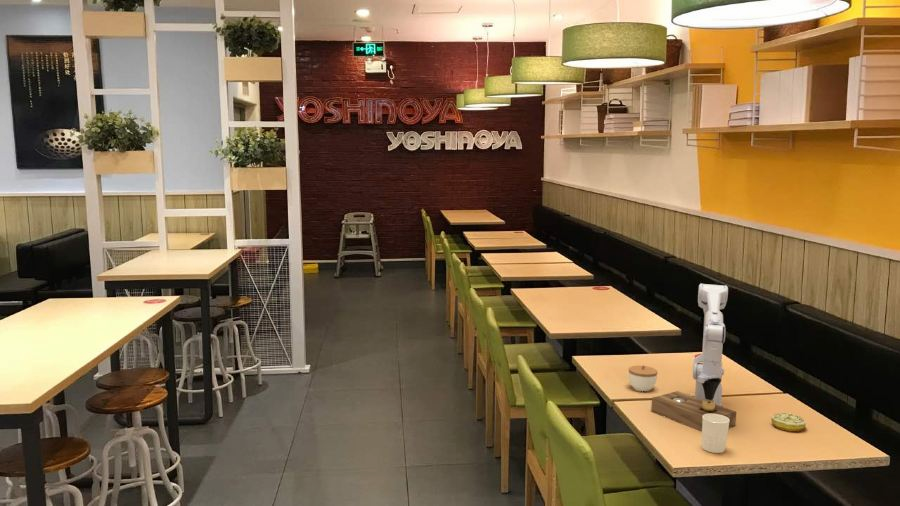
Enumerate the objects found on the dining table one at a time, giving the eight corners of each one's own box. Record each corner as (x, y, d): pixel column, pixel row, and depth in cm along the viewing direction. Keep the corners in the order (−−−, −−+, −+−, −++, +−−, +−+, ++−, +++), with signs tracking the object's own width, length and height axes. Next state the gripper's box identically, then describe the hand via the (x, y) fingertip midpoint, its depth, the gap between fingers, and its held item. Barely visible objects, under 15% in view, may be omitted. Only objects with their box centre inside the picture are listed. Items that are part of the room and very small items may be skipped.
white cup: (695, 443, 232) (698, 413, 230) (719, 443, 233) (722, 413, 231) (706, 454, 224) (709, 423, 223) (731, 454, 225) (734, 422, 223)
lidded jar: (623, 389, 282) (624, 366, 280) (633, 382, 290) (635, 359, 289) (650, 395, 276) (652, 371, 274) (660, 388, 284) (661, 365, 283)
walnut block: (676, 404, 267) (677, 390, 267) (735, 425, 248) (736, 411, 247) (651, 411, 259) (652, 397, 259) (709, 434, 240) (710, 419, 239)
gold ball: (706, 411, 251) (707, 398, 250) (716, 414, 248) (717, 402, 247) (699, 413, 249) (700, 400, 248) (709, 417, 245) (710, 404, 245)
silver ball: (677, 409, 261) (677, 396, 260) (686, 412, 258) (687, 400, 257) (669, 411, 259) (670, 398, 258) (679, 414, 256) (679, 402, 255)
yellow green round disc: (809, 427, 249) (810, 416, 248) (799, 436, 241) (800, 425, 240) (777, 419, 256) (778, 408, 255) (766, 427, 248) (767, 416, 247)
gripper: (711, 353, 253) (708, 391, 255) (690, 361, 243) (687, 400, 245) (731, 358, 248) (727, 396, 250) (710, 366, 238) (707, 406, 240)
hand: (709, 399), depth 247 cm, fingers closed
